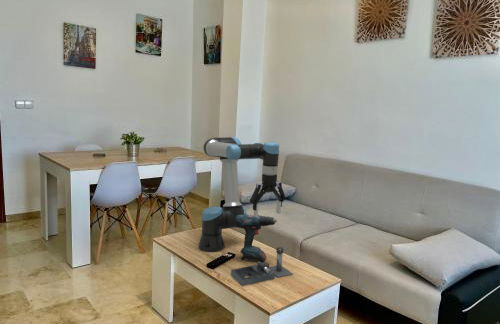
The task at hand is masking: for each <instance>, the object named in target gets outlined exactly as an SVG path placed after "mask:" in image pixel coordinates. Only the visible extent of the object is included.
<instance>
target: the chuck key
mask: <svg viewBox="0 0 500 324" xmlns="http://www.w3.org/2000/svg"><path fill="white" fill-rule="evenodd" d="M284 250H285V249H284V247H282V246H280V247H279V246H278V247H276V265H275V266H276V271H278V272H281V271H282V266H283V254H284Z"/></svg>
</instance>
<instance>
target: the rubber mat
mask: <svg viewBox="0 0 500 324" xmlns="http://www.w3.org/2000/svg"><path fill="white" fill-rule="evenodd" d="M269 269H270V270H272V271H273V272H274V273H275V278H277V279H279V278H283V277H288V276H292V275H293V276H294V273H293V272H291V271H290V270H288V269H287V268H285V267H284V266H283V265H282V271H281V272H278V271H276V265H271V266H269Z"/></svg>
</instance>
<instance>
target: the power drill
mask: <svg viewBox="0 0 500 324" xmlns="http://www.w3.org/2000/svg"><path fill="white" fill-rule="evenodd" d="M276 222H277V223H278V220H276V218H274V217H270V216H266V215H265V216H263V215H259V214H258V217H255V216H254V214H244V215H237V216H236V218H235V224H236V226H237V228H239V229H243V230H244V231H245V234H244V241H243V247H242V248H241V249H240V253H241V254H242V255H241V257H240V261H242V262H243V261H245V262H252V263H254V262H255V263H257V262H260V263H262V262H266V260H267V255H266V253H265V252H264V250H262V249H261V248H260V247H259V246H257V245H256V246H255V245H253V243H254V238H255V236H257V235H259V234H260V233H259V230H261V229H262V227H268V226H274V225H275V224H276Z"/></svg>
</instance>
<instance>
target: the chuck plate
mask: <svg viewBox="0 0 500 324" xmlns="http://www.w3.org/2000/svg"><path fill="white" fill-rule="evenodd" d="M269 267H270V264H269V263H268V262H266V261H265V262H262V263H260V262H256V264H253V265H249V266H248V265H247V266H244V267H239V268H234V269H231V271H230V276H231V277H232V278H233V279H234V280H235V281H236V282H237V283H238V284H240V285H241V286H242V287H244V286H248V285H253V284H259V283H261V282H265V281H266V282H267V281H270V280H275V279H276V276H275V273H274V272H273V271H272V270H270V269H269Z"/></svg>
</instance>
